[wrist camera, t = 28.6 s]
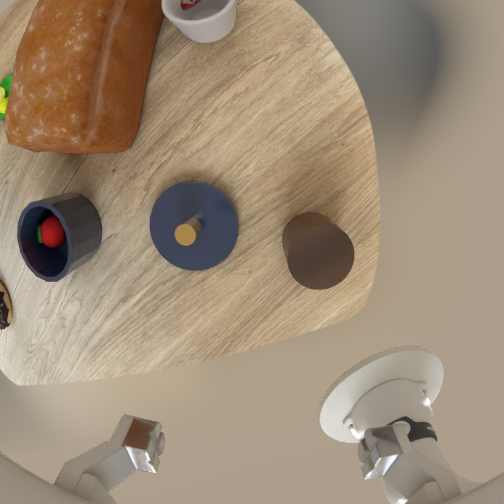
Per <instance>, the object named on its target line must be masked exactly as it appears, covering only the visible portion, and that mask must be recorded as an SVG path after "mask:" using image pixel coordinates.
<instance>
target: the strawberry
mask: <svg viewBox="0 0 504 504" xmlns="http://www.w3.org/2000/svg"><path fill="white" fill-rule="evenodd" d="M66 238H67V237H66V232H65V230H64V228H63V226H62V224H61V222H60V220H59V218H58V217H56V216H52V217H49V218H47V219H46V220H45V221H44V222H43V223H42V225H38V239H39V243H40V244H41V243H44V244H45V245H46V246H48V247H51V248H57V247H59V246H61V245H62V244H63V243H64V242H65V240H66Z"/></svg>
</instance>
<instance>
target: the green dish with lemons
mask: <svg viewBox="0 0 504 504" xmlns="http://www.w3.org/2000/svg"><path fill="white" fill-rule="evenodd" d="M11 83H12V76H8V77H6V78H5V79H4V80H3V81H2V82H1V84H0V120H1V119H3V118H5V111H6V106H7V102H8V97H9V93H10V89H11Z"/></svg>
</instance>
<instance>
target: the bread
mask: <svg viewBox="0 0 504 504" xmlns="http://www.w3.org/2000/svg"><path fill="white" fill-rule="evenodd" d="M163 14H164V13H163V10H162V0H39V1H38V3H37V5H36V6H35V8H34V10H33V12H32V15H31V18H30V20H29V23H28V26H27V28H26V30H25V33H24V35H23V38H22V40H21V42H20V45H19V48H18V50H17V54H16V59H15V65H14V70H13V76H12V83H11V89H10V93H9V97H8V102H7V106H6V111H5V132H6V136H7V139H8V142H9V144H11V145H15V146H19V147H23V148H25V149H28V150H31V151H34V152H45V151H50V152H58V153H76V154H88V153H108V152H122V151H124V150H126V149H129V148H131V147H132V144H133V141H134V139H135V136H136V134H137V131H138V129H139V123H140V115H141V109H142V103H143V97H144V92H145V87H146V82H147V77H148V73H149V68H150V64H151V59H152V55H153V50H154V46H155V42H156V37H157V34H158V30H159V27H160V24H161V20H162V17H163Z"/></svg>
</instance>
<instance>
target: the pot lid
mask: <svg viewBox="0 0 504 504" xmlns="http://www.w3.org/2000/svg"><path fill="white" fill-rule="evenodd" d="M150 232H151V237H152V240H153V242H154V244H155V246H156V248H157V250H158V251H159V253H160V254H161V255H162V256H163V257H164V258H165V259H166V260H167V261H169V262H170V263H171V264H173V265H175V266H177V267H179V268H182V269H186V270H192V271H200V270H206V269H209V268H212V267H214V266H216V265H218V264H220V263H221V262H222V261H224V260H225V259H226V258H227V257H228V255H229V254H230V253H231V251H232V249H233V248H234V245H235V243H236V240H237V236H238V218H237V214H236V211H235V209H234V207H233V205H232V203H231V202H230V200H229V199H228V198H227V197H226V195H224V194H223V193H222V192H221V191H220V190H218V189H217V188H215V187H213V186H212V185H209V184H206V183H202V182H195V181H192V182H184V183H180V184H177V185H175V186H173V187H171V188H169V189H168V190H166V191H165V192H164V193H163V194H162V195H161V196H160V197H159V198H158V200H157V201H156V203H155V205H154V207H153V209H152V213H151V217H150Z"/></svg>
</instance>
